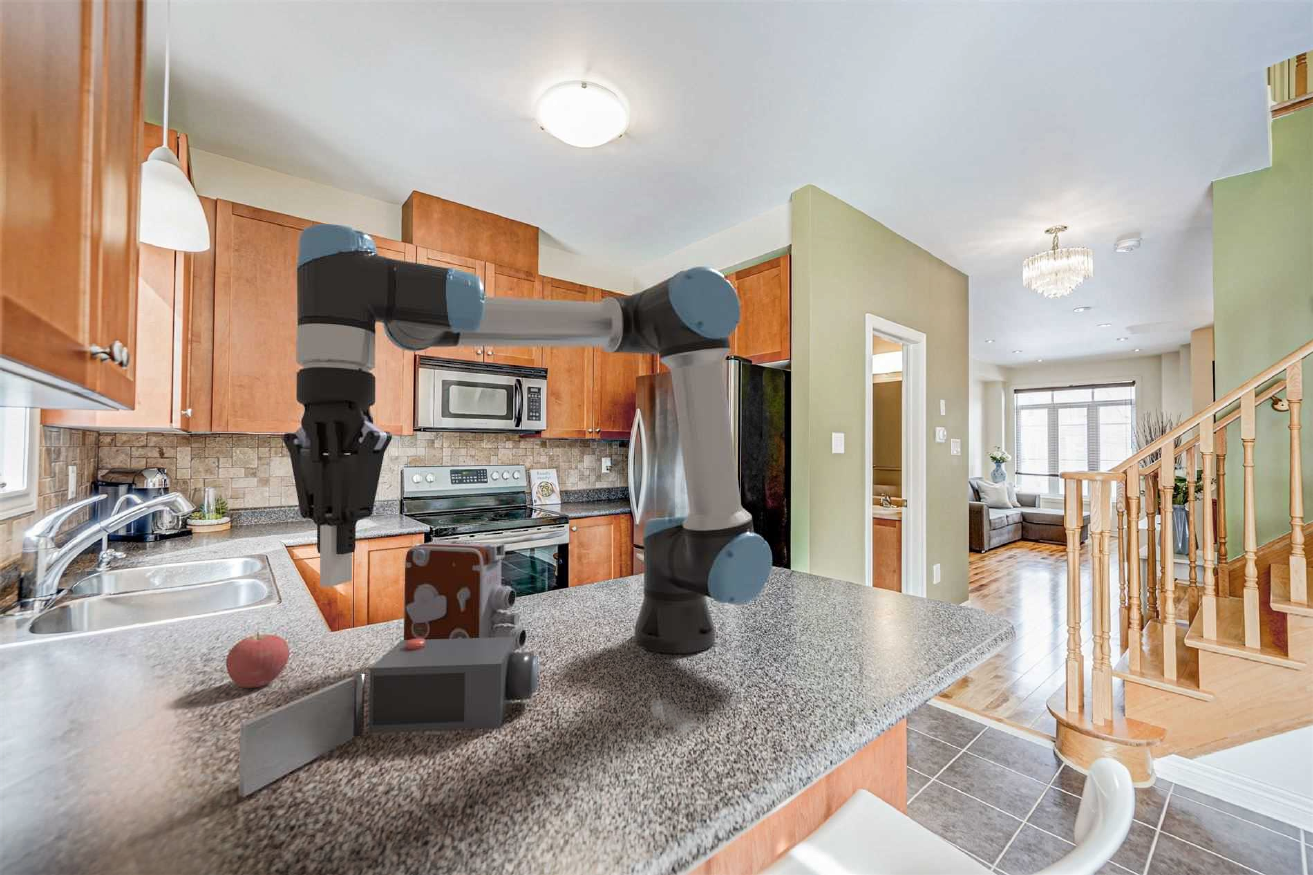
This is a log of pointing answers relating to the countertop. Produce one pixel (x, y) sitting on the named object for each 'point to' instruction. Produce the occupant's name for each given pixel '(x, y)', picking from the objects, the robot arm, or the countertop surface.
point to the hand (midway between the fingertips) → (336, 583)
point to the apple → (257, 660)
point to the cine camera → (458, 593)
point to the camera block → (448, 684)
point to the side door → (299, 732)
